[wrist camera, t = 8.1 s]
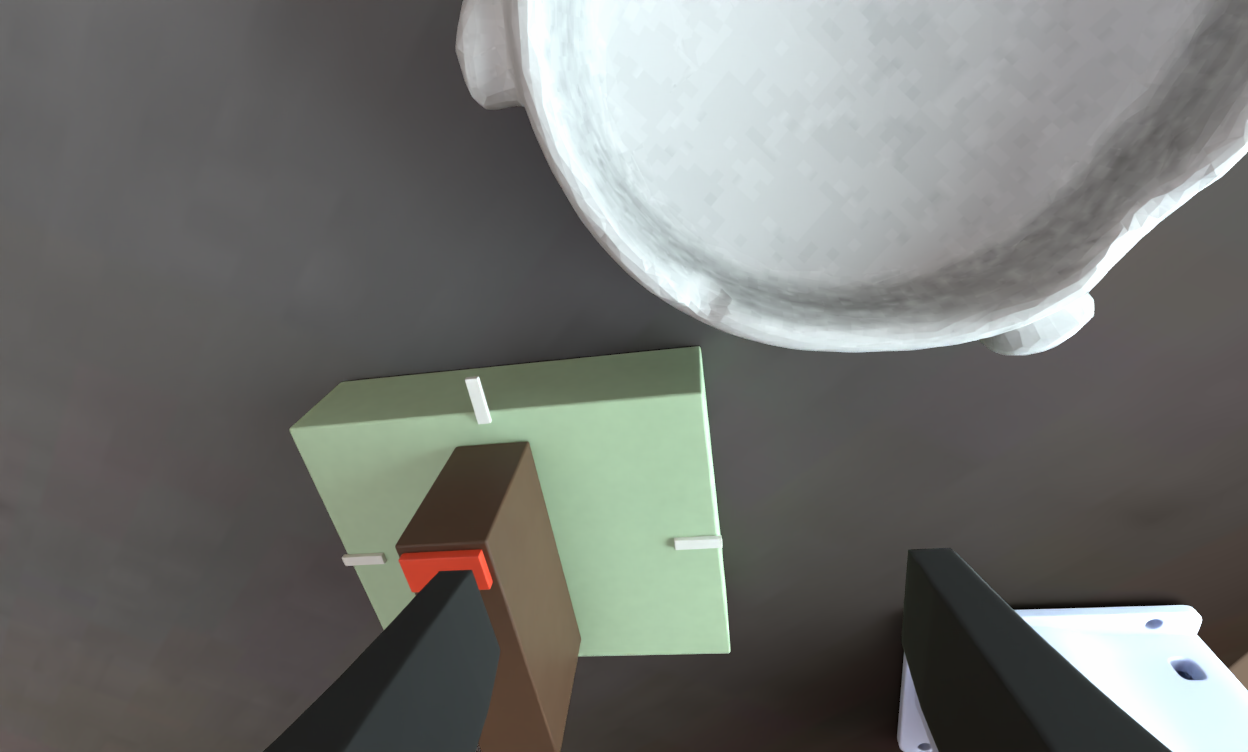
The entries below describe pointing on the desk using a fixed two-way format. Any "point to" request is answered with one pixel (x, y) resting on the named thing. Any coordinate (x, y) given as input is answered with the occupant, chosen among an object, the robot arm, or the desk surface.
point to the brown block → (504, 585)
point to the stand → (547, 483)
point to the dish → (871, 151)
